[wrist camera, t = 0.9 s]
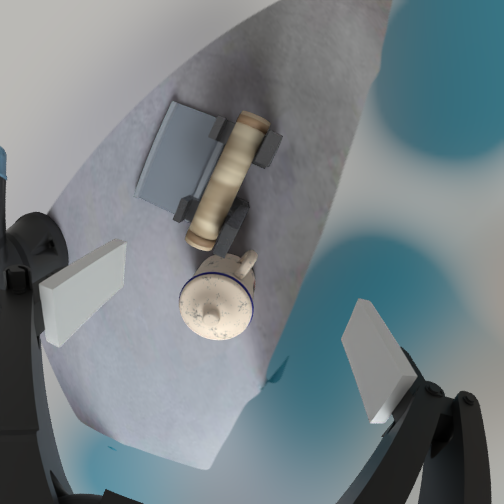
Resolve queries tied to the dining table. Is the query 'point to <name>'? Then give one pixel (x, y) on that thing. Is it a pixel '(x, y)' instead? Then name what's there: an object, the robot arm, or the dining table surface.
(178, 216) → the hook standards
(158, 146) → the tray
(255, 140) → the wooden cylinder
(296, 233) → the dining table surface
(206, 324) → the teacup with lid
